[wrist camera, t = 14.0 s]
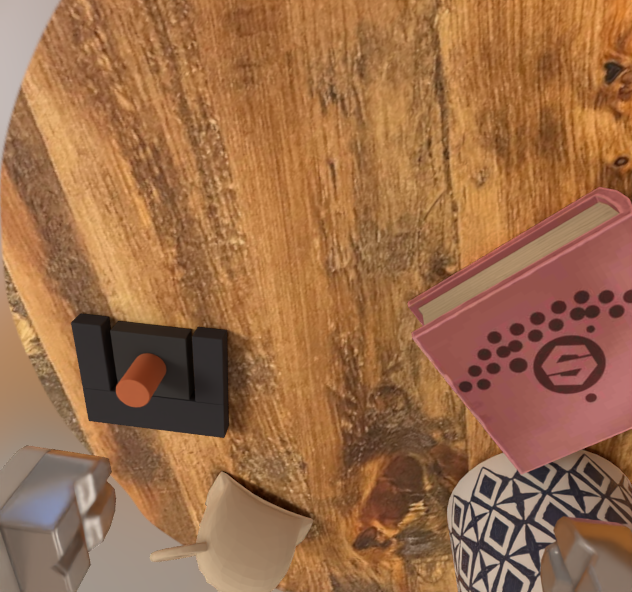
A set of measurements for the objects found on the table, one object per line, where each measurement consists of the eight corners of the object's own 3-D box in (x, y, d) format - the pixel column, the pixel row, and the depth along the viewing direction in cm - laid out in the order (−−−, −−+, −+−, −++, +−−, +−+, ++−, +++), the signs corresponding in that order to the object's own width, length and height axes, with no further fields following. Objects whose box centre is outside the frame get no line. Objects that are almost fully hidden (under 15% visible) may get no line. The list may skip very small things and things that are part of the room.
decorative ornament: (283, 552, 52) (267, 634, 45) (174, 494, 50) (140, 570, 43) (315, 520, 49) (304, 601, 42) (202, 457, 47) (170, 532, 40)
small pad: (126, 380, 44) (98, 420, 39) (118, 320, 41) (87, 356, 36) (195, 388, 43) (174, 429, 39) (191, 328, 40) (169, 365, 36)
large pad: (96, 409, 46) (88, 421, 44) (80, 312, 41) (70, 322, 40) (228, 426, 45) (224, 438, 44) (227, 329, 40) (222, 339, 39)
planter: (414, 527, 48) (428, 704, 36) (510, 412, 41) (572, 584, 28) (557, 584, 50) (620, 772, 37) (675, 483, 43) (802, 674, 30)
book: (700, 338, 36) (745, 381, 32) (505, 428, 42) (520, 474, 38) (612, 178, 32) (650, 202, 28) (407, 302, 37) (412, 338, 33)
